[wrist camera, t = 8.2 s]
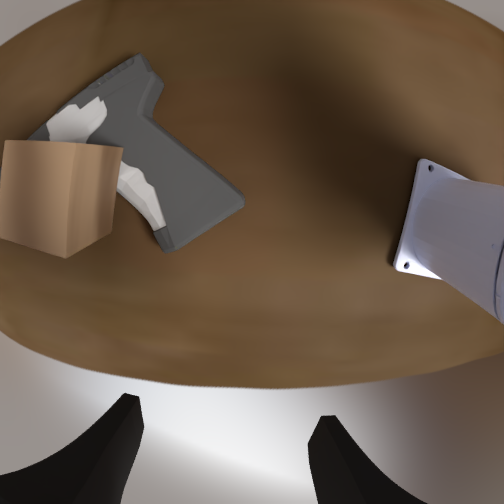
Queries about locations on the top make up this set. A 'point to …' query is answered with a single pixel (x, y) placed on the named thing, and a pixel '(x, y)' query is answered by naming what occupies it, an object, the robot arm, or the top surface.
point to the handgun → (146, 154)
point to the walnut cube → (57, 194)
